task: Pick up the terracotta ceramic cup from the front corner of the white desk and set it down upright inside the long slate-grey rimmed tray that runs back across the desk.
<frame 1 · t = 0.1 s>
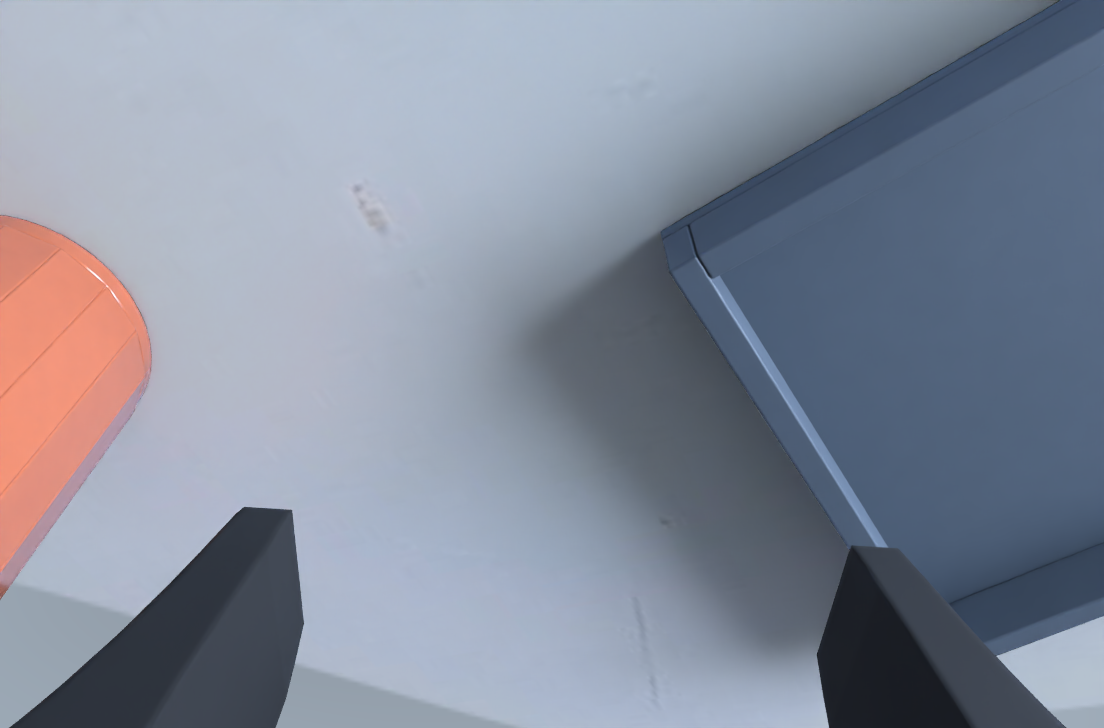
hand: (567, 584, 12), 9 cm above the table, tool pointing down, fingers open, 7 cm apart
cup: (22, 332, 20), on the table
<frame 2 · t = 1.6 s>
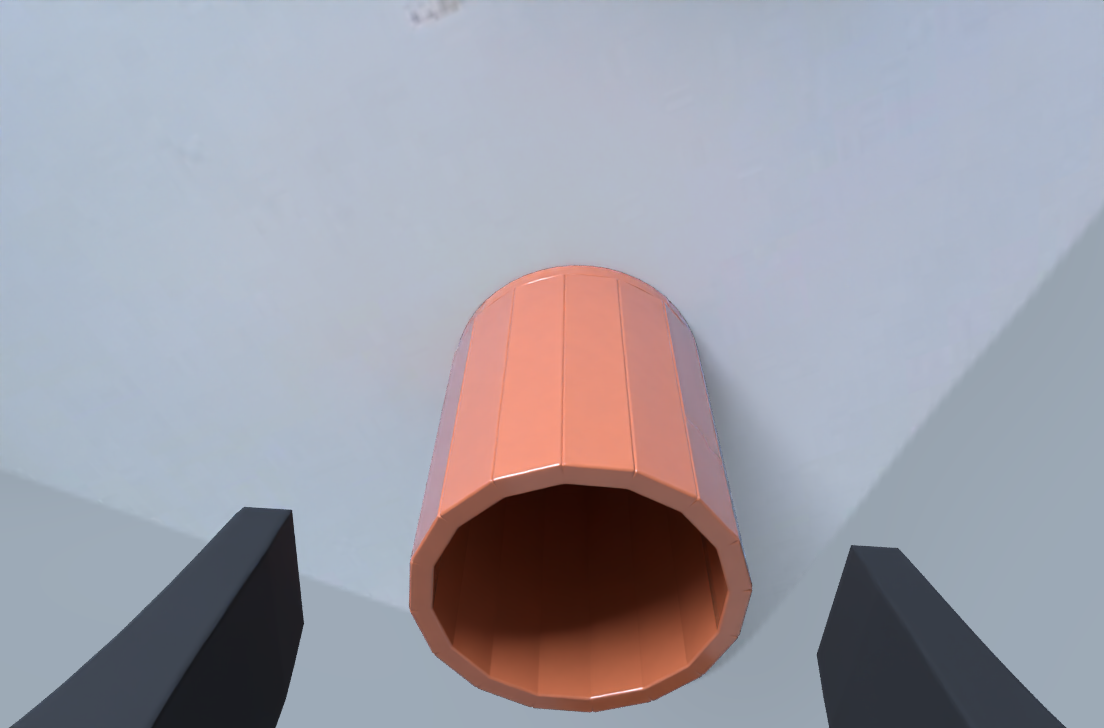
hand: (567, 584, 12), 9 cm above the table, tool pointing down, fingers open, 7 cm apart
cup: (577, 375, 21), on the table
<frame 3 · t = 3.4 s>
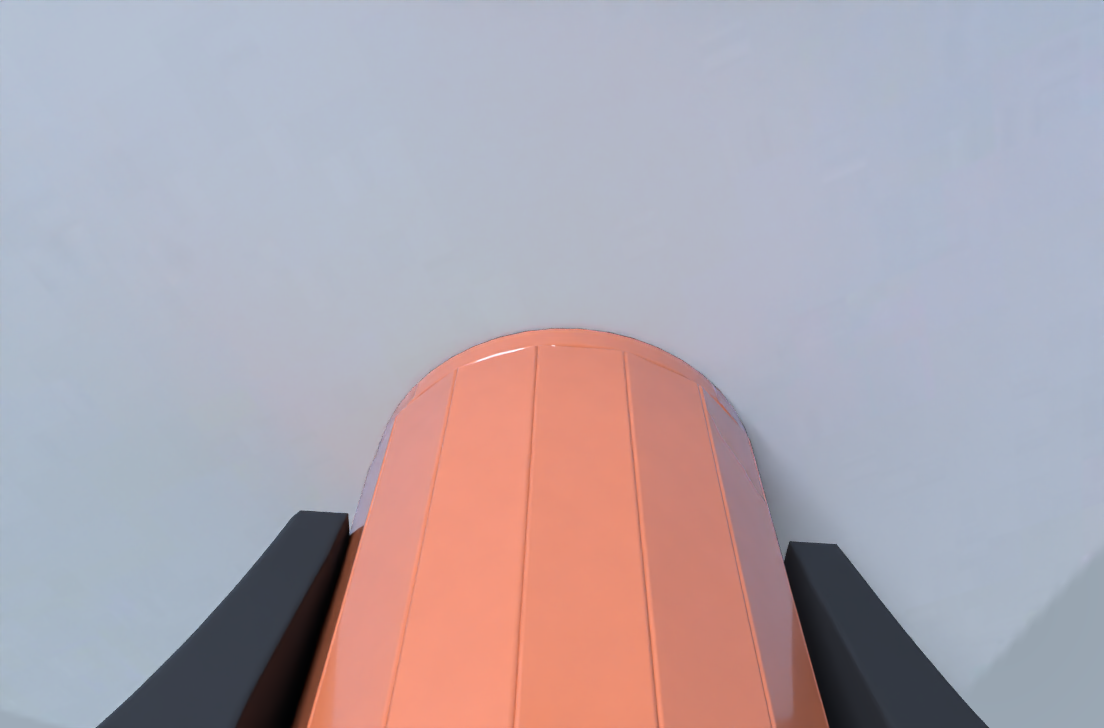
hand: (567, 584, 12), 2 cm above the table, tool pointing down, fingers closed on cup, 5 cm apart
cup: (565, 491, 14), on the table, touching gripper
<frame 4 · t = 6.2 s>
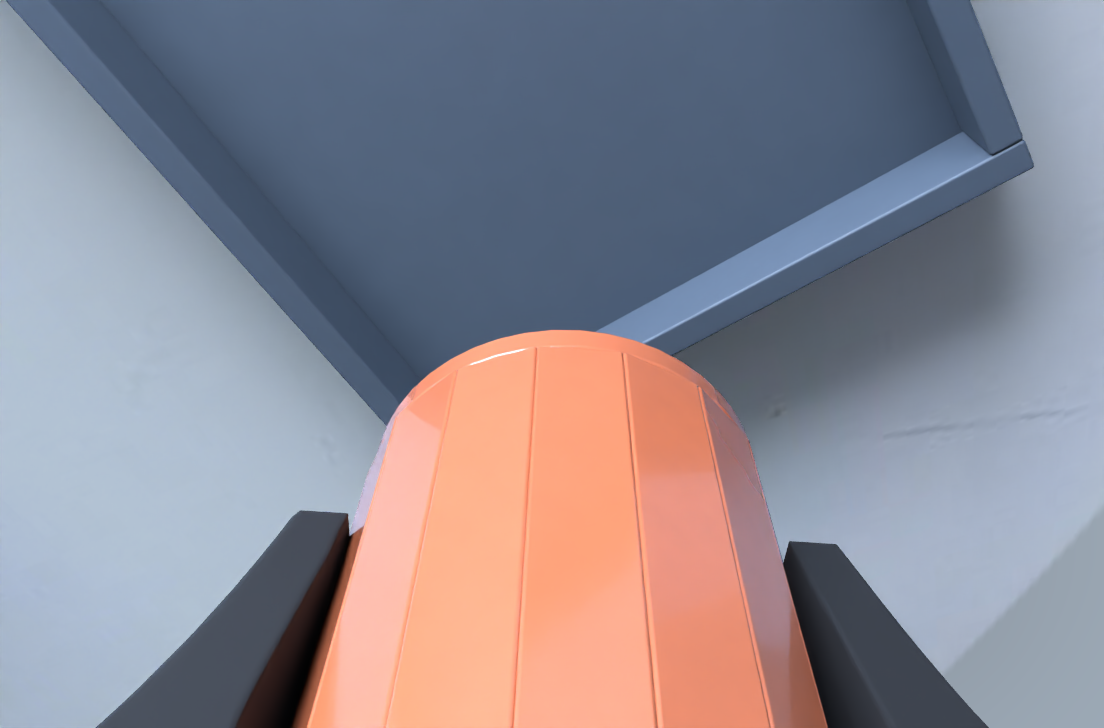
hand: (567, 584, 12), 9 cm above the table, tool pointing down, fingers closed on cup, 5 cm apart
cup: (564, 492, 14), point 7 cm above the table, touching gripper
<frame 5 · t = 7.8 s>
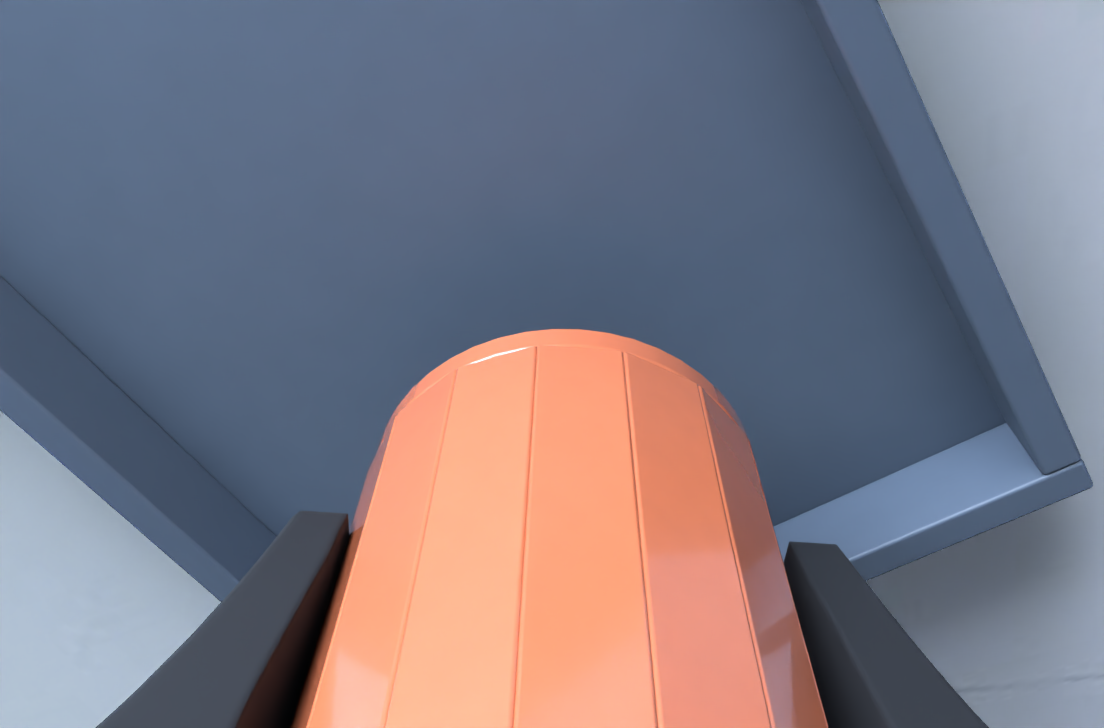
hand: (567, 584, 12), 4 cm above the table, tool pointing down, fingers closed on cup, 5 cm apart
cup: (564, 491, 14), point 2 cm above the table, touching gripper
when the fingers open (2 cm above the table, at t = 9.0 s): cup stays where it is, resting on tray.
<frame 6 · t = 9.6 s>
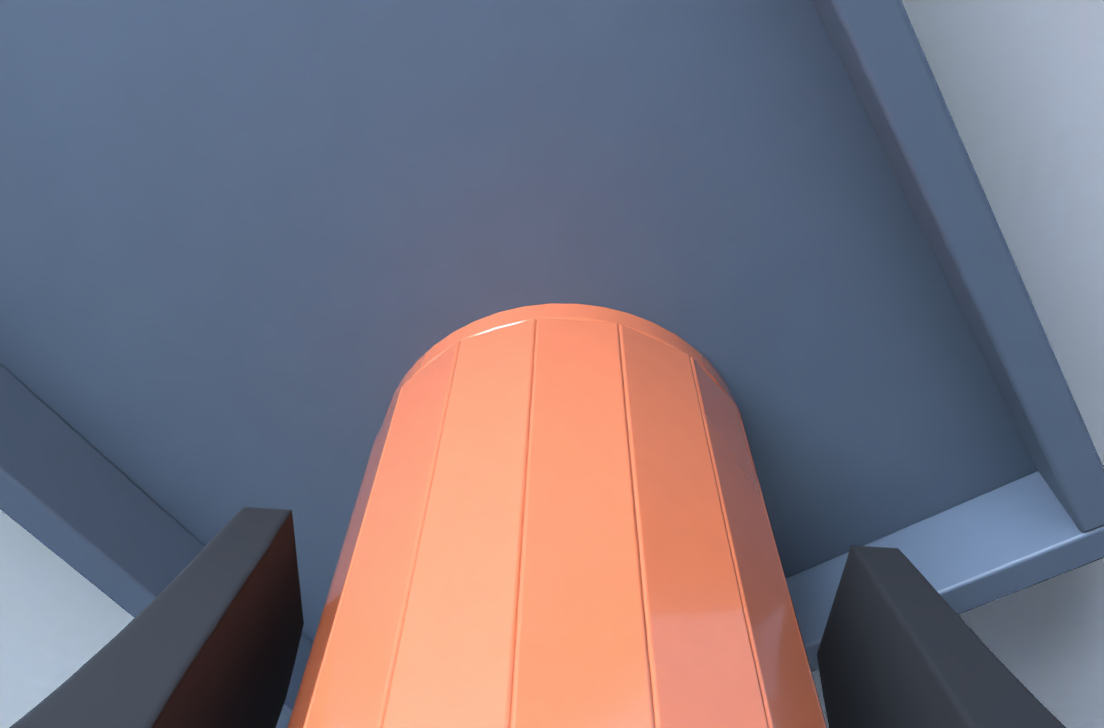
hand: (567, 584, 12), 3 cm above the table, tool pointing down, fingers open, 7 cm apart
cup: (562, 461, 14), resting on tray
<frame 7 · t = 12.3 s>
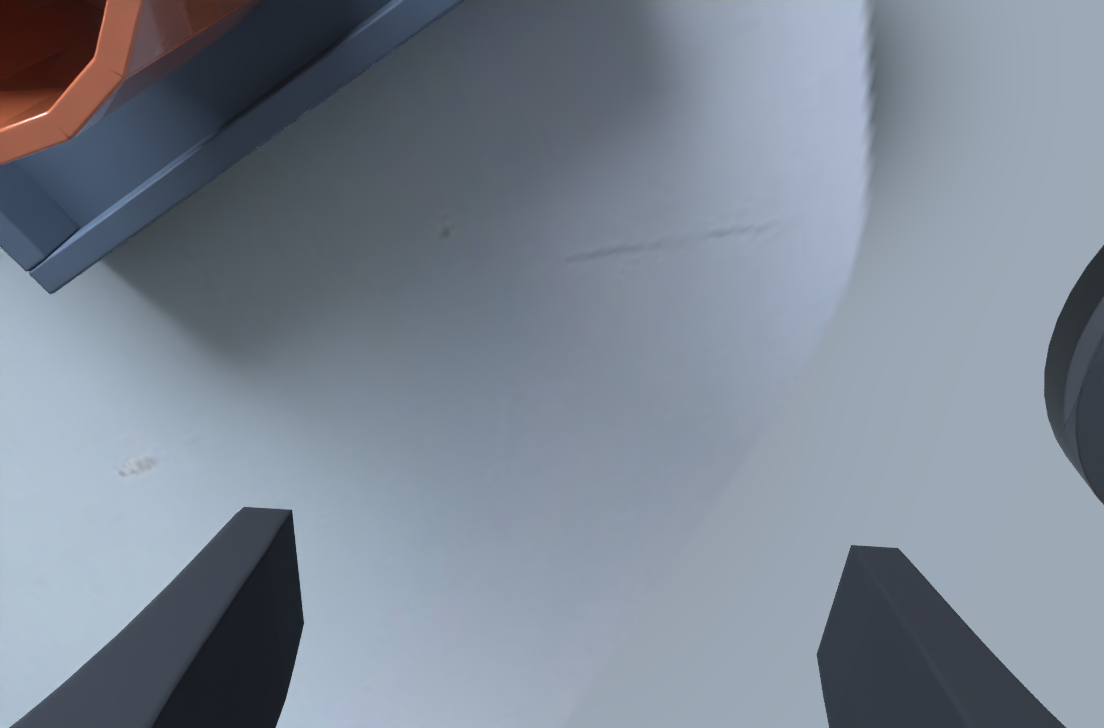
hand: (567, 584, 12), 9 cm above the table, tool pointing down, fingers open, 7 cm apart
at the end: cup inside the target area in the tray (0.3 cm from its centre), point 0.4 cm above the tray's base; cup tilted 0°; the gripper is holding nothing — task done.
